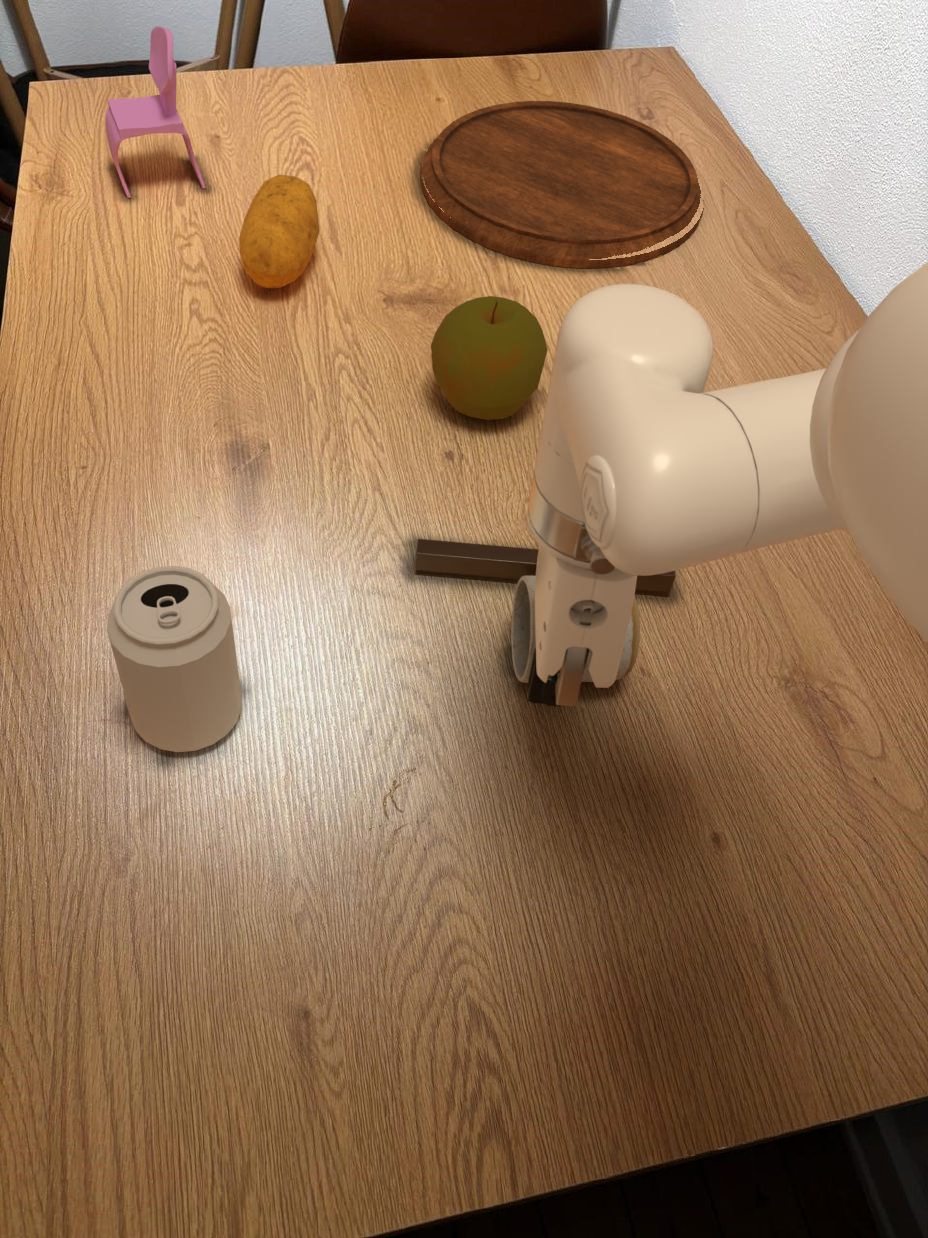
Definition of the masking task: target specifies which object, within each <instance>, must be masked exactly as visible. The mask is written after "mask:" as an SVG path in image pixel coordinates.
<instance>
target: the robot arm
mask: <svg viewBox="0 0 928 1238" xmlns="http://www.w3.org/2000/svg"><path fill="white" fill-rule="evenodd" d="M554 349H555V350H554V356H553V361H552V367H551V373H550V378H549V384H548V389H547V396H546V401H545V407H544V412H543V413H544V414H543V417H542V418H543V420H542V423H541V424H542V425H541V428H540V429H541V430H540V435H539V441H538V446H537V452H536V458H535V464H534V470H533V473H532V474H533V475H532V481H531V486H530V492H529V497H528V504H527V510H526V522H527V525H528V529H529V532H530V533H531V535H532V537H533V538H534V540H535V541H536V542H537V544H538V557H537V566H536V582H535V637H536V648H535V651H534V655H533V660H532V665H531V670H530V674H529V679H528V683H527V688H528V693H527V700H528V702H529V703H531V704H541V705H545V706H548V707H562V706H563V707H564V706H565V707H574V708H575V707H577V704H578V701H579V696H580V691H581V685H582V684H581V683H582V682H581V680H582V677H583V674H584V671H585V668H586V665H587V664H589V666H588V669H589V672H590V675H591V677H592V680H593V682H592V683H593V685H594V687H595V688H603V689H609V688H610V687H612V685H613V684H614V683H615V682H616V680H615V679H616V676H617V672H618V668H619V664H620V660H621V656H622V651H623V647H624V643H625V639H626V635H627V630H628V626H629V621H630V617H631V612H632V606H633V601H634V596H635V594H636V593H635V589H636V581H637V575H640V576H647V575H655V574H662V573H667V572H671V571H675V572H676V571H679V570H683V569H687V568H691V567H694V566H698V565H702V564H707V563H710V562H713V561H718V560H722V559H726V558H729V557H734V556H735V555H739V554H742V553H747V552H751V551H755V550H758V549H763V548H767V547H771V546H775V545H780V544H784V543H787V542H792V541H795V540H800V539H804V538H808V537H813V536H817V535H818V536H819V535H822V534H827V533H831V532H836V531H840V530H844V531H845V532H846V533H848V535H849V536H851V538H852V540H853V543H854V545H855V547H856V549H857V550H858V552H859V554H860V556H861V557H862V559H863V560H864V562H865V563H866V565H867V566H868V568H869V569H870V571H871V572H872V574H873V575H874V576H875V579H876V580H877V581H878V583H879V584H880V585H881V587H882V588H883V591H885V593H886V594H887V596H888V597H889V599H890V600H891V601H892V603H893V604H894V606H895V607H896V608H897V609H898V611H899V612H900V613H901V614H902V616H904V618H905V619H906V621H908V623H909V624H910V625H911V626H912V627H913V629H914V630H915V631H916V632H917V633H918V634H919V635H920V637H922V639H923V640H924V642H925V643H927V644H928V261H927V262H926V263H925V264H922V266H921V267H919V268H918V269H916V270H915V271H914V272H913V273H911V274H910V275H908V276H907V277H906V278H905V279H903V280H902V281H901V282H899V283H898V284H897V285H895V286H894V287H893V288H892V289H891V291H890V292H889V293H888V294H887V295H886V296H885V297H884V298H883V300H882V301H880V303H879V304H878V305H877V306H876V307H875V308H874V309H873V311H872V312H870V314H869V315H868V317H867V318H866V319H865V320H864V322H863V324H862V325H861V327H860V328H859V329H857V330H856V332H854V333H853V334H852V335H851V336H850V337H849V338H848V339H847V340H846V341H845V342H844V343H843V344H842V345H841V346H840V348H839V349H838V350H837V352H836V353H835V354H834V355H833V357H832V358H831V359H830V361H829V363H828V365H827V367H825V368H820V369H816V370H812V371H808V372H803V373H798V374H793V375H787V376H781V377H776V378H771V379H765V380H759V381H754V382H749V383H745V384H739V385H734V386H729V387H723V388H719V389H714V390H710V391H705V387H706V384H707V381H708V378H709V375H710V371H711V368H712V363H713V358H714V341H713V336H712V333H711V330H710V327H709V325H708V324H707V321H706V320H705V318H704V317H703V315H702V314H701V313H700V312H699V311H698V310H697V308H695V307H693V306H692V305H691V304H690V303H689V302H688V301H686V300H685V299H683V298H681V297H680V296H678V295H677V294H674V293H672V292H671V291H668V290H665V289H663V288H659V287H655V286H652V285H646V284H640V283H639V284H638V283H617V284H610V285H606V286H602V287H598V288H595V289H592V290H591V291H589V292H587V293H585V294H584V295H583V296H581V297H580V298H578V299H577V300H576V301H575V302H574V303H573V304H572V305H571V306H570V308H569V309H568V310H567V312H566V314H565V315H564V317H563V319H562V321H561V324H560V326H559V329H558V333H557V338H556V343H555V348H554Z"/></svg>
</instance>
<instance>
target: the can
mask: <svg viewBox="0 0 928 1238" xmlns="http://www.w3.org/2000/svg"><path fill="white" fill-rule="evenodd" d="M233 626H234V625H233V618H232V612H231V606H230V603H229V601H228V599H227V597H226V596H225V593H223V592H222V591H221V590H220V589H219V588H218V587H217V586H216V585H215V584H214V583H213V582H212V581H211V580H210V579H209V578H208V577H207V576H205V574H204V573H201V572H199V571H197V570H195V569H193V568H190V567H185V566H179V565H164V566H163V565H162V566H156V567H152V568H149V569H146V570H143V571H142V572H140V573H138V574H136V575H134V576H133V577H131V578H129V579H128V580H127V581H126V583H124V585H122V587H121V588H119V591H117V595H116V597H115V599H114V601H113V604H112V606H111V608H110V610H109V612H108V614H107V622H106V632H107V635H108V639H109V643H110V647H111V650H112V655H113V658H114V661H115V662H114V663H115V664H116V665H115V666H116V669H117V674H118V677H119V680H120V684H121V687H122V692H123V695H124V699H125V703H126V707H127V710H128V714H129V718H130V721H131V723H132V726H133V728H134V731H135V732H136V734H138V735H139V737H140V738H141V739H142V740H143V741H144V742H145V743H147V744H149V745H151V746H153V747H155V748H157V749H159V750H162V751H163V750H164V751H168V752H174V753H184V752H195V751H199V750H201V749H205V748H207V747H210V746H213V745H214V744H216V743H217V742H218V741H220V740H222V739H223V738H225V737H227V735H228V734H229V733H230V731H232V729H233V728H234V726H235V725H236V724H237V723H238V720H239V717H240V715H241V712H242V709H243V705H242V704H243V703H242V702H243V701H242V689H241V682H240V674H239V666H238V659H237V650H236V649H237V648H236V642H235V634H234V627H233Z"/></svg>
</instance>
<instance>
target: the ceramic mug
mask: <svg viewBox="0 0 928 1238" xmlns="http://www.w3.org/2000/svg"><path fill="white" fill-rule="evenodd" d="M535 582H536V576H522V577H521V578H520V580H519V581H518V583H516V587H515V590H514V596H513V601H512V602H513V603H512V612H511V624H510V625H511V626H510V627H511V629H510V644H511V658H512V659H511V660H512V665H513V670H514V675H515V678H516V679H517V680H518V682H520V683H524V684H528V679H529V674H530V670H531V665H532V660H533V655H534V651H535V648H536V637H535ZM640 640H641V620H640V610H639V606H638V602H637V599H636V596H635V595H634V601H633V606H632V612H631V617H630V621H629V626H628V630H627V635H626V639H625V643H624V647H623V651H622V656H621V660H620V664H619V668H618V672H617V676H616V679H615V681H618V680H621V679H624V678H625V677H626V676H628V675H629V674H630V673H631V671H632V670H633V669H634V666H635V664H636V662H637V658H638V654H639V648H640ZM588 666H589V664H587V665H586V668H585V671H584V674H583V677H582V680H581V683H582V682H583V683H584V682H585V683H587V682H588V683H594V682H593V680H592V677H591V675H590V672H589V669H588Z"/></svg>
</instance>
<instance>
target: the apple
mask: <svg viewBox="0 0 928 1238" xmlns="http://www.w3.org/2000/svg"><path fill="white" fill-rule="evenodd" d="M430 353H431V366H432V372H433V375H434V377H435V380H436V382H437V385H438V387H439V388H440V390H441V392H442V395H443V396H444V398H445V400H446V402H447V403H448V404H449V405H450V406H451V407H452V408H453V409H454V410H455V411H456V412H457V413H460V414H462V415H465V416H468V417H470V418H475V419H480V420H487V421H490V420H503V419H506V418H508V417H511V416H513V415H516V414H517V413H519V411H520V410H521V409H522V407H523V406H524V405H525V403H527V402H528V400H529V399H530V398H531V396H532V395H534V393H535V392H536V391H537V389H539V386H540V381H541V378H542V374H543V369H544V366H545V361H546V357H547V354H548V345H547V343H546V338H545V334H544V330H543V328H542V326H541V324H540V322H539V320H538V318H537V317H536V316H535V314H533V313H532V312H531V311H530V310H529V309H528V308H527V307H525V305H523V304H521V303H520V302H518V301H516V300H513V299H509V298H506V297H503V296H494V295H493V296H492V295H487V296H481V297H476V298H475V297H474V298H471V299H469V300H466V301H465V302H462V303H461V304H459V305H458V306H456V307H454V308H453V309H452V310H450V311H449V313H447V314H446V315H445V316H443V319H442V320H441V322H440V324H439V326H438V327H437V329H436V331H435V332H434V336H433V338H432V340H431V344H430Z"/></svg>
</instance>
